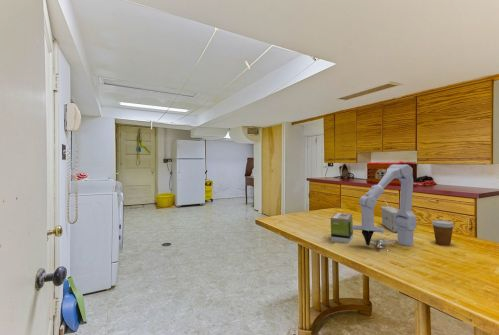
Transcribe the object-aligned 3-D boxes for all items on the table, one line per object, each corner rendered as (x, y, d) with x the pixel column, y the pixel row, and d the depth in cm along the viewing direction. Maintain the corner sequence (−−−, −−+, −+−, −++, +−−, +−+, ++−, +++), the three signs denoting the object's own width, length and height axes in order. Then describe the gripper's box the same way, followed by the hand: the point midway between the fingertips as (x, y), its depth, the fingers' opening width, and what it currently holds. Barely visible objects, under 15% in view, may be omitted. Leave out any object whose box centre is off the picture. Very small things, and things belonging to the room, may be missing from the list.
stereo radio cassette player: (406, 233, 154) (406, 201, 153) (392, 232, 155) (392, 201, 155) (392, 224, 174) (392, 196, 174) (380, 224, 176) (379, 196, 175)
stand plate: (370, 243, 137) (370, 240, 137) (393, 246, 131) (393, 243, 131) (366, 251, 125) (366, 247, 125) (391, 255, 119) (391, 251, 119)
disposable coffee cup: (448, 241, 137) (448, 220, 136) (458, 247, 128) (457, 224, 127) (429, 240, 139) (428, 219, 139) (436, 246, 130) (436, 223, 130)
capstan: (366, 242, 136) (366, 235, 136) (396, 246, 128) (395, 239, 128) (363, 248, 125) (363, 241, 125) (394, 254, 118) (394, 246, 118)
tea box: (336, 235, 153) (335, 212, 152) (353, 237, 147) (353, 213, 147) (330, 242, 140) (330, 217, 139) (349, 245, 135) (349, 218, 134)
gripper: (351, 219, 128) (351, 244, 128) (382, 222, 120) (383, 249, 120) (353, 216, 134) (354, 240, 134) (384, 219, 126) (384, 245, 126)
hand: (368, 244), depth 128 cm, fingers closed
